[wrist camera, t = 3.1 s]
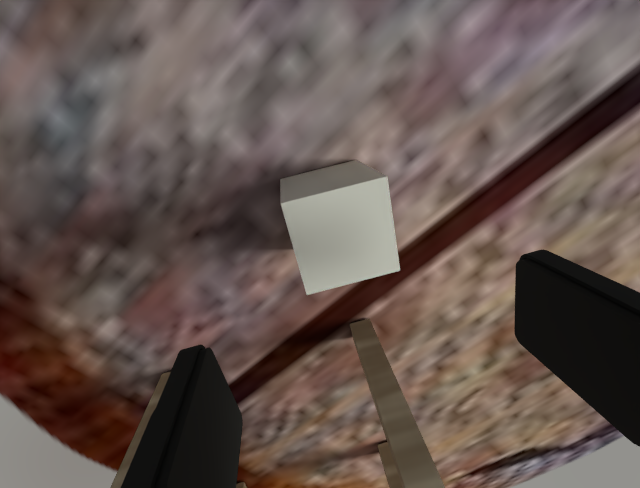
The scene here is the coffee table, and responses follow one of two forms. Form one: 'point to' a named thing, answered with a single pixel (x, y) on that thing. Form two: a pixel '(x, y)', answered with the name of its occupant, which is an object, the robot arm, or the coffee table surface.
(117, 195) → the coffee table surface
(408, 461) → the trapdoor frame
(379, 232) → the smooth gray block
